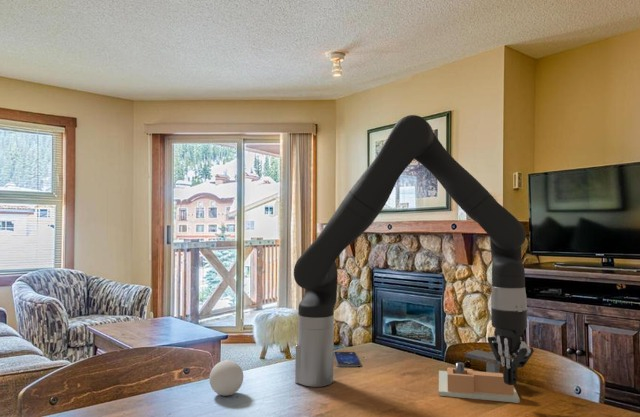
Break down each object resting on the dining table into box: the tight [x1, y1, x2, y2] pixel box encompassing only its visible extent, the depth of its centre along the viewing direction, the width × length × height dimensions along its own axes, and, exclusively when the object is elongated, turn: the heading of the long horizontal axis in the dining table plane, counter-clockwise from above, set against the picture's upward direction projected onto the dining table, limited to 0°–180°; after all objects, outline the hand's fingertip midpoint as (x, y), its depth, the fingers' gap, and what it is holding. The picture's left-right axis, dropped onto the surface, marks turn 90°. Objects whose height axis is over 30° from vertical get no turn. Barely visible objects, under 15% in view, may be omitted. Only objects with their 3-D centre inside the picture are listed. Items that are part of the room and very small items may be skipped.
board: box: [438, 370, 520, 404], centre depth 120 cm, size 18×17×1 cm
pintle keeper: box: [455, 349, 501, 374], centre depth 121 cm, size 13×16×7 cm
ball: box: [208, 359, 244, 397], centre depth 113 cm, size 8×8×8 cm
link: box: [446, 367, 515, 395], centre depth 115 cm, size 15×6×4 cm, turn 76°
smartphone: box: [333, 351, 363, 368], centre depth 144 cm, size 7×1×15 cm
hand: (510, 383), depth 107 cm, fingers closed
